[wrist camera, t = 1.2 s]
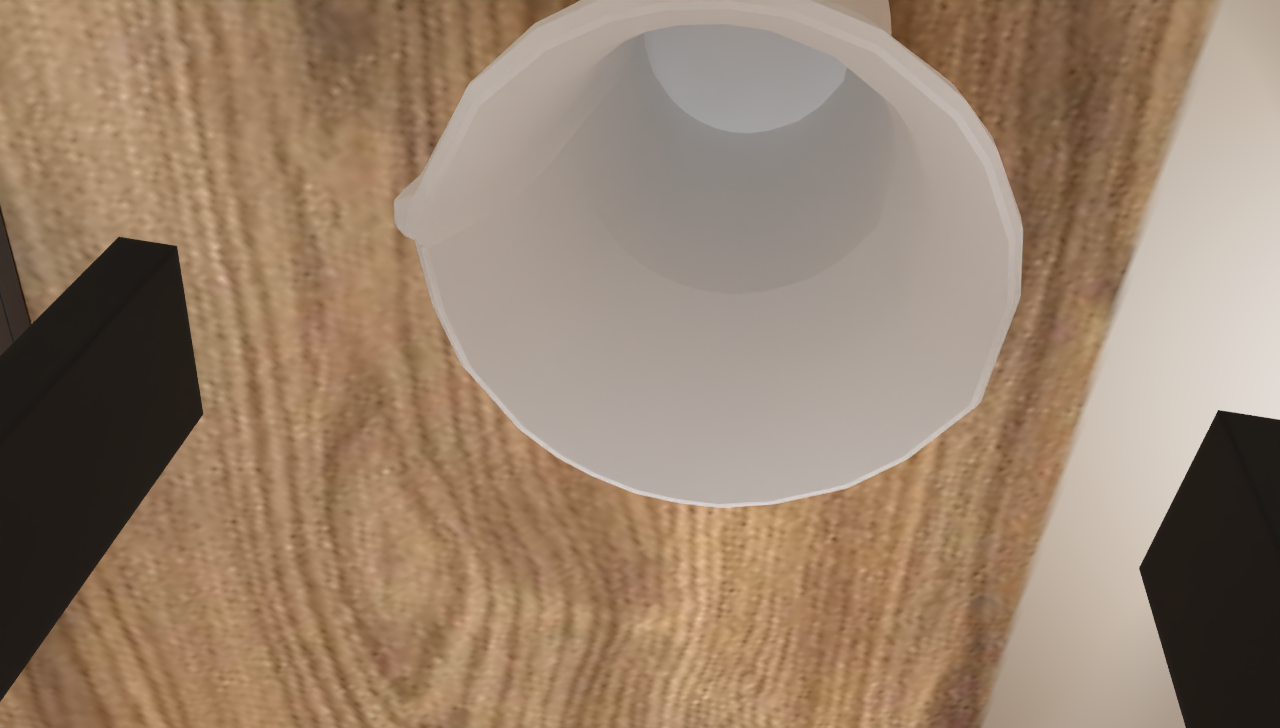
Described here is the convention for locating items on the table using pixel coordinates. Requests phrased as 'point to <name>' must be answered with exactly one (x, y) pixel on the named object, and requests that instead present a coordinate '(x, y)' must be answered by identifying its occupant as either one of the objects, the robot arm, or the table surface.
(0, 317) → the dark grey storage bin
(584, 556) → the table surface
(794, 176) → the cup
